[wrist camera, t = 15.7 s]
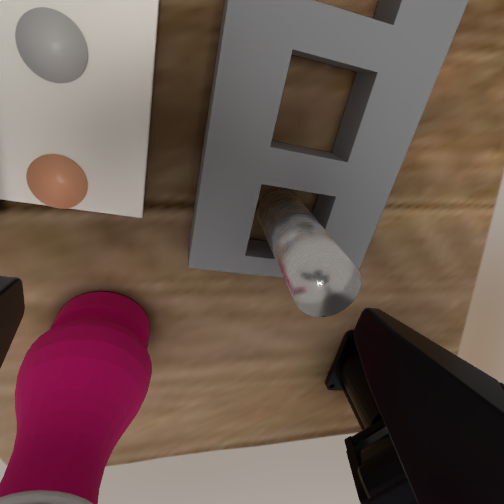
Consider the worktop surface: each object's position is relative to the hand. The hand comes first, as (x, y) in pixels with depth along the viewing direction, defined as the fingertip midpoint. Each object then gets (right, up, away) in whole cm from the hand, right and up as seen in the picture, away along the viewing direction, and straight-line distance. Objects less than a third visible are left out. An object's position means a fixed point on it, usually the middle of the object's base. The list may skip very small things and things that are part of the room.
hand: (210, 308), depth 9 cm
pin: (+3, +4, +13) cm, 14 cm away
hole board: (+4, +10, +10) cm, 15 cm away
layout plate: (-8, +11, +7) cm, 16 cm away
